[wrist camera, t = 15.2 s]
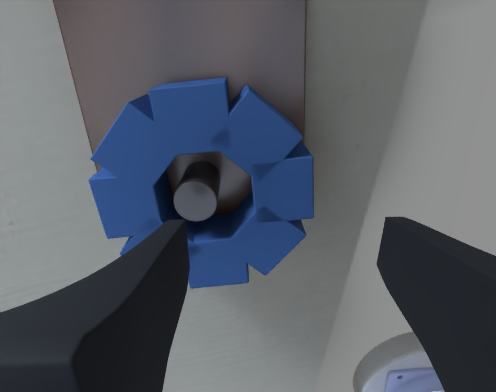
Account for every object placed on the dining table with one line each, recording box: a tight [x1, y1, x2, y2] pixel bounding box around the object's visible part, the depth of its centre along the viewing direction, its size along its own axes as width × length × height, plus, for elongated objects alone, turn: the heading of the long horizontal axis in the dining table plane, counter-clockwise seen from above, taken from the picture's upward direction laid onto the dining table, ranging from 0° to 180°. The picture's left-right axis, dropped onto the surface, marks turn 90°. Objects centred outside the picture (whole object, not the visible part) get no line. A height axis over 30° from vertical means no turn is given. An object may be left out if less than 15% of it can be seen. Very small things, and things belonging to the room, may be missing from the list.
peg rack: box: [53, 0, 307, 221], centre depth 14 cm, size 11×20×4 cm, turn 3°
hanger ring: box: [89, 77, 314, 288], centre depth 16 cm, size 10×10×3 cm
